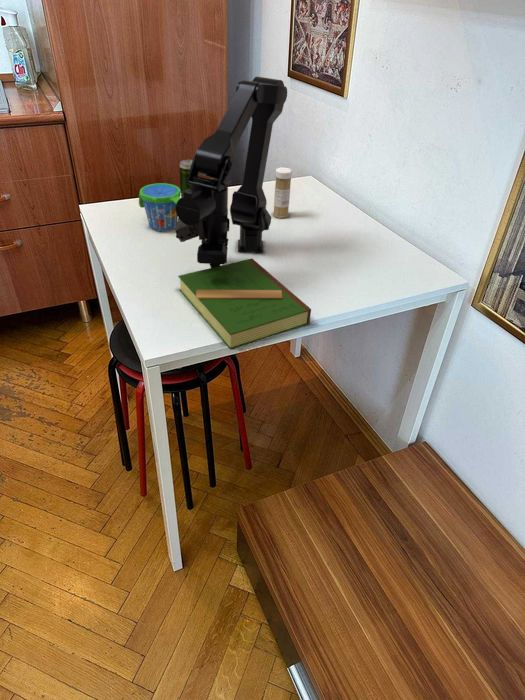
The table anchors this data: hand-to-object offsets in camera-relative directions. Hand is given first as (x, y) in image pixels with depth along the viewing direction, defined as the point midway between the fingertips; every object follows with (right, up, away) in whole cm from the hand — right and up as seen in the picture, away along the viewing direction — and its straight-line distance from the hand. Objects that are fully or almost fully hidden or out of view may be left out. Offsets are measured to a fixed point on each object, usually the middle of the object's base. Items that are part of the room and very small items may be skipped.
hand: (214, 271), depth 118 cm
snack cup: (-16, +16, +21) cm, 31 cm away
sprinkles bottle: (+17, +21, +30) cm, 41 cm away
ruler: (+6, -7, -12) cm, 15 cm away
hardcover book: (+7, -9, -8) cm, 14 cm away
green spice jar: (-11, +26, +35) cm, 45 cm away
